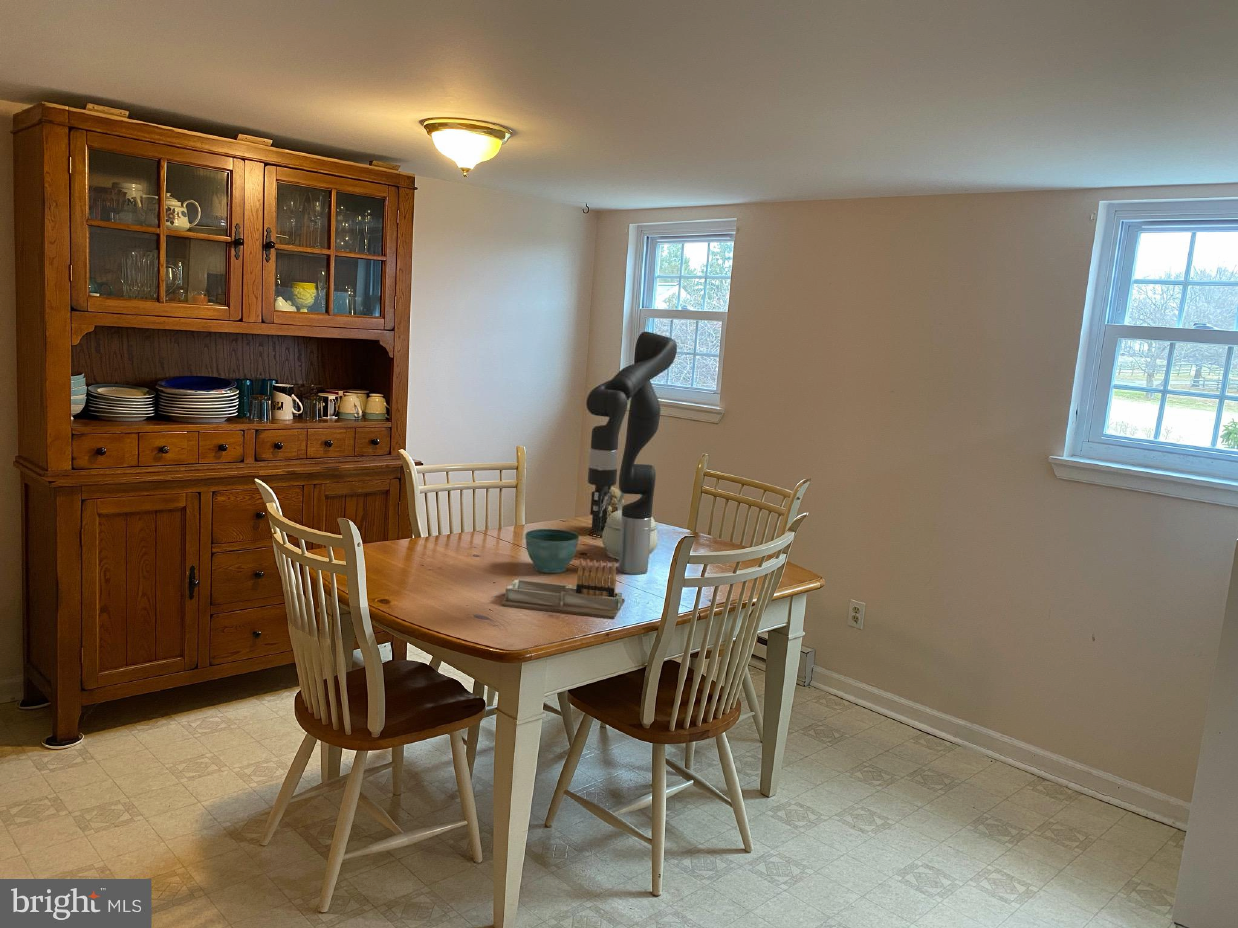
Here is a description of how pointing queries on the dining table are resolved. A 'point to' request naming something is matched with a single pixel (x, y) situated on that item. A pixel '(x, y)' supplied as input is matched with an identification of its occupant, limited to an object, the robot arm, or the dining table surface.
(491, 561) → the dining table surface
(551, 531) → the flower pot
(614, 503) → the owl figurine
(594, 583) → the ammunition clip
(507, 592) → the shallow open tray
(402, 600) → the dining table surface
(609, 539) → the kettle
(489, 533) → the dining table surface
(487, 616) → the dining table surface
